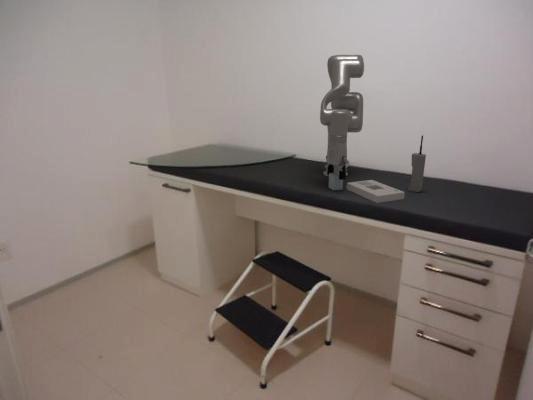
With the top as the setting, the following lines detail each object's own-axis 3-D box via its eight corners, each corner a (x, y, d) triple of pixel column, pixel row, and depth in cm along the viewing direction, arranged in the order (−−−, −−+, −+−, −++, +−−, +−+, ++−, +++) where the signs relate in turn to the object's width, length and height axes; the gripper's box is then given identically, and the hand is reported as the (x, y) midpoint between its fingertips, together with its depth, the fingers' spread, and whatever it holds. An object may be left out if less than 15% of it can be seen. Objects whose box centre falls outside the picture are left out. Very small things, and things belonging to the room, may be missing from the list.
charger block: (328, 187, 185) (329, 173, 183) (336, 186, 187) (337, 172, 184) (333, 190, 181) (334, 175, 179) (342, 189, 183) (343, 174, 180)
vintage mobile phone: (410, 188, 183) (416, 134, 176) (421, 190, 180) (428, 135, 173) (407, 190, 181) (413, 135, 173) (418, 192, 178) (425, 136, 170)
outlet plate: (346, 189, 183) (346, 182, 182) (371, 185, 188) (372, 179, 187) (377, 203, 163) (377, 195, 162) (404, 199, 169) (404, 191, 168)
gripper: (320, 137, 183) (319, 173, 188) (341, 142, 168) (339, 181, 172) (334, 136, 186) (332, 172, 190) (356, 141, 170) (354, 180, 175)
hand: (336, 177), depth 181 cm, fingers open, 9 cm apart
